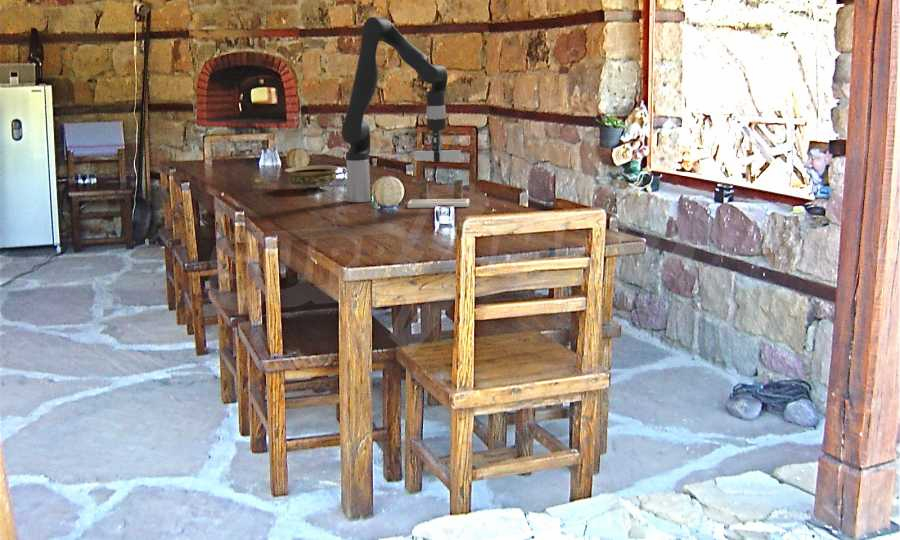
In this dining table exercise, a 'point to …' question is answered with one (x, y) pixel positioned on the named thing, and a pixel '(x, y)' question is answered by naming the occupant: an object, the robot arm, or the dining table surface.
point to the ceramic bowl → (312, 176)
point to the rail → (443, 155)
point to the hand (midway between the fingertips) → (437, 161)
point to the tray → (437, 203)
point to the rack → (425, 189)
